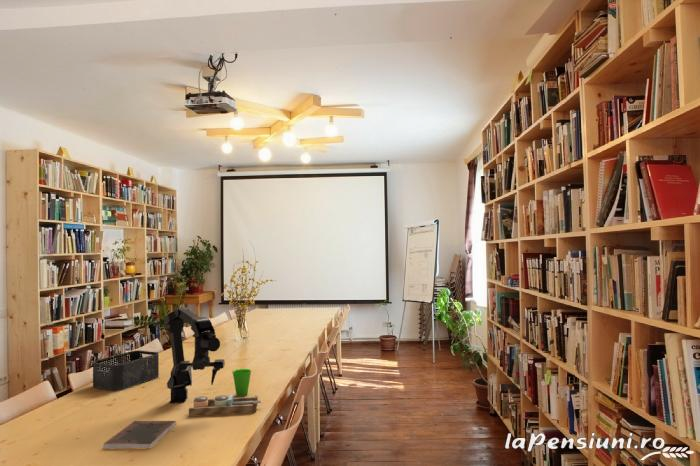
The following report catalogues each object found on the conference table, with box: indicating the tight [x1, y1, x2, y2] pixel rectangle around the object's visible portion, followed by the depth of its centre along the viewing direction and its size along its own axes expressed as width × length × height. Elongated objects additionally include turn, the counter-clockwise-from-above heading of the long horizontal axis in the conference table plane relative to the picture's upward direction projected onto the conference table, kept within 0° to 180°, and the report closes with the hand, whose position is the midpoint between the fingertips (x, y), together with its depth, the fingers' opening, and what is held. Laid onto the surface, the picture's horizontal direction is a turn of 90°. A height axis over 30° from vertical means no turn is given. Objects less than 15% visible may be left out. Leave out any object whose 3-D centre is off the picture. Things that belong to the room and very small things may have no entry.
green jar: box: [214, 394, 229, 406], centre depth 194 cm, size 6×6×5 cm
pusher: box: [228, 393, 261, 406], centre depth 196 cm, size 13×8×5 cm, turn 98°
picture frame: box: [102, 420, 177, 450], centre depth 167 cm, size 16×2×22 cm
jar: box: [193, 395, 209, 408], centre depth 193 cm, size 6×6×5 cm
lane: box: [188, 395, 259, 417], centre depth 194 cm, size 27×11×4 cm, turn 98°
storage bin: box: [92, 350, 160, 392], centre depth 239 cm, size 29×19×13 cm
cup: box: [231, 368, 252, 397], centre depth 215 cm, size 9×9×11 cm
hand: (201, 385), depth 193 cm, fingers open, 8 cm apart
